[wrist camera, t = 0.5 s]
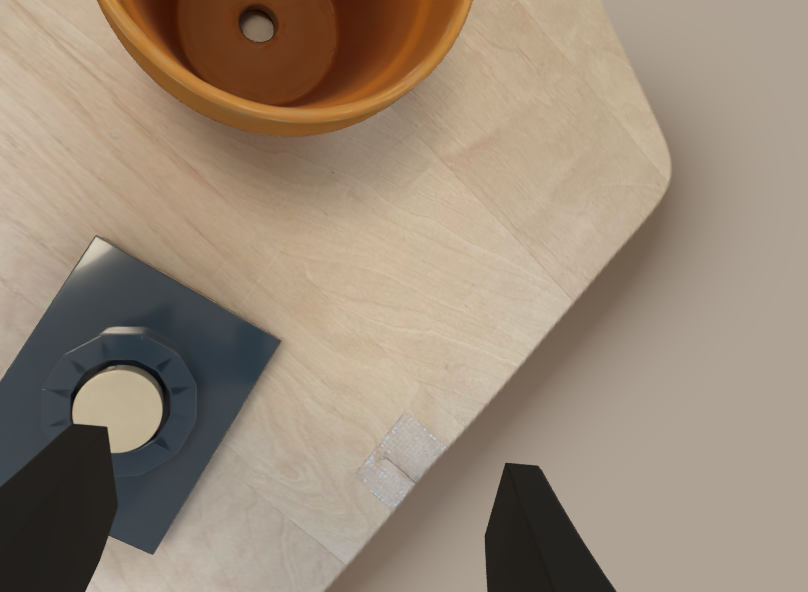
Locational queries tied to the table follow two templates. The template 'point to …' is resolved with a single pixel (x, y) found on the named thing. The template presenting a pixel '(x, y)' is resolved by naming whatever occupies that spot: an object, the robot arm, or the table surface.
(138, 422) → the cream cylinder puck
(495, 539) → the robot arm
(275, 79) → the flower pot
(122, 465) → the push button base
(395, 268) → the table surface
